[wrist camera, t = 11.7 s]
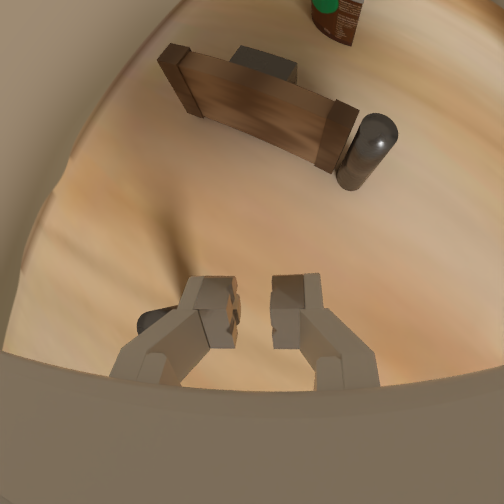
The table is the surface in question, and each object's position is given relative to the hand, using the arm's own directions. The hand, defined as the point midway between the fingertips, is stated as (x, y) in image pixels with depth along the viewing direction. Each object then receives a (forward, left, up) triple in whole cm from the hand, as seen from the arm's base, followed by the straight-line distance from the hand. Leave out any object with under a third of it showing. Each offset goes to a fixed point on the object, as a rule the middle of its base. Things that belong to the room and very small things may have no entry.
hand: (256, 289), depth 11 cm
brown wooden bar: (-3, -13, -15) cm, 20 cm away
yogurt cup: (-15, -27, -16) cm, 35 cm away
